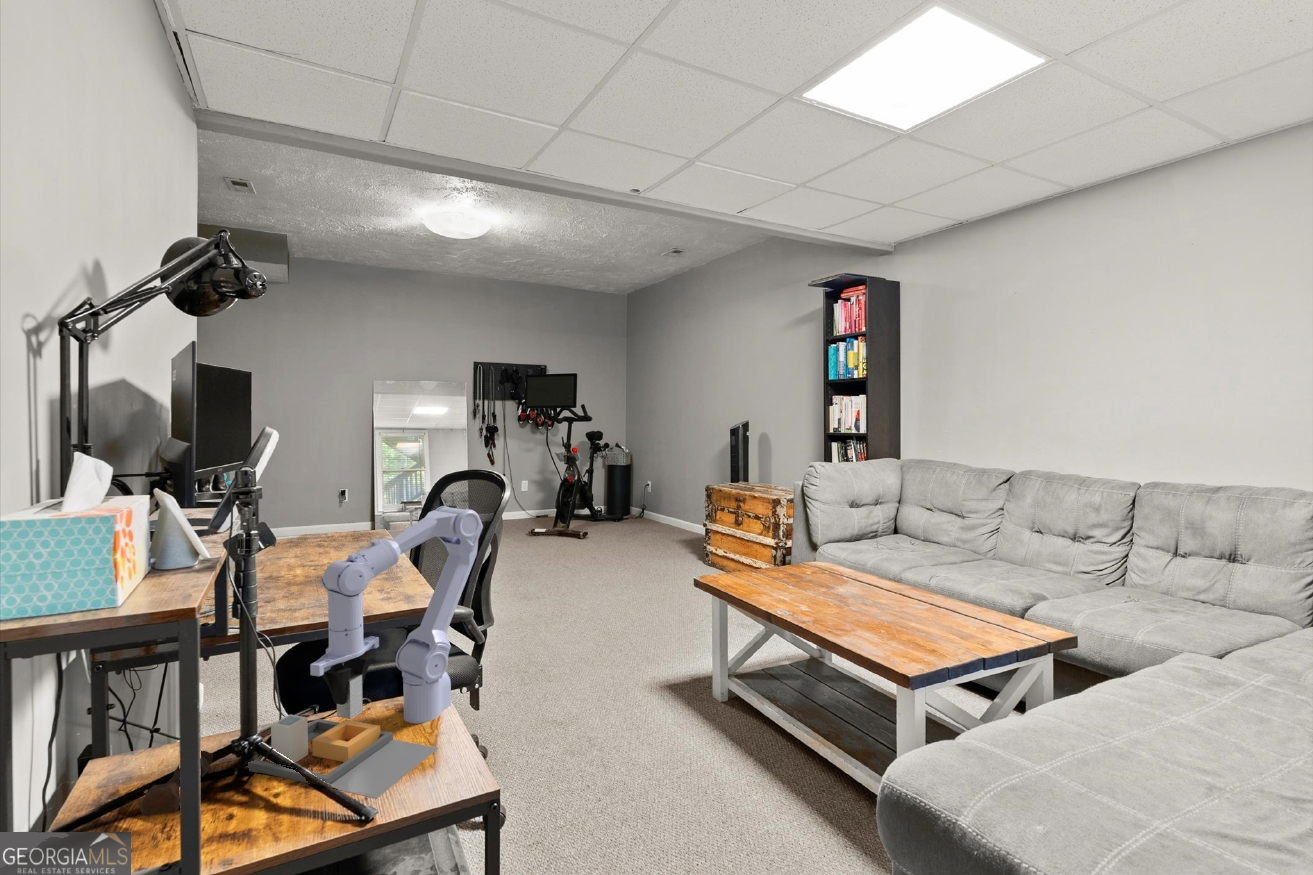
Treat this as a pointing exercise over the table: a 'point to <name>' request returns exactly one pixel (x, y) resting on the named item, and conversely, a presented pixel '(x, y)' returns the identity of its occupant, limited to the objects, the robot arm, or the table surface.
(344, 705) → the grey rectangular block
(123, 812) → the table surface
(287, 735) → the block
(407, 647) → the robot arm
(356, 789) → the lid
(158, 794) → the bolt
